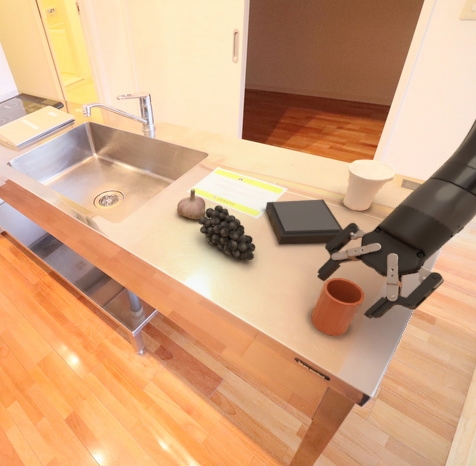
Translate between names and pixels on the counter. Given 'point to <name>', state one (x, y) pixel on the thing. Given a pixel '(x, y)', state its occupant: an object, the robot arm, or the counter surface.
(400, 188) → the counter surface
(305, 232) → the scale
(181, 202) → the garlic bulb
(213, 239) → the fruit
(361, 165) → the cup
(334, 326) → the terracotta cup
